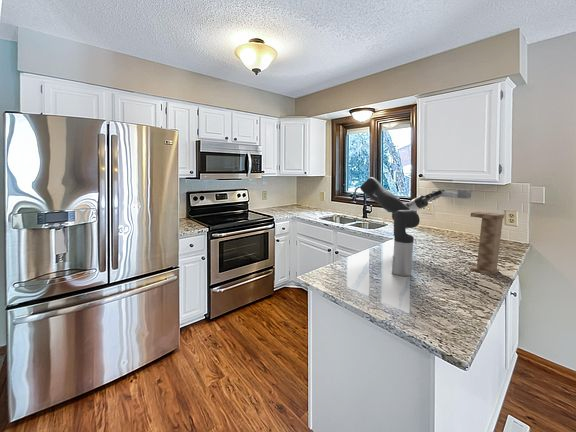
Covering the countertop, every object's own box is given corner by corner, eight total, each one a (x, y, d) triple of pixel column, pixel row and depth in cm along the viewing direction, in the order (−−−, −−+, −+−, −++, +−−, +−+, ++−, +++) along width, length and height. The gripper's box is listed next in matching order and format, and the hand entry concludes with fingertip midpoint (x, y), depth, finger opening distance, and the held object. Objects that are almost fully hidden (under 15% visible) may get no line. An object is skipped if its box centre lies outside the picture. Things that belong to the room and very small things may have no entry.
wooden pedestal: (465, 268, 162) (470, 212, 157) (473, 265, 168) (479, 211, 163) (490, 275, 152) (497, 215, 147) (498, 271, 158) (505, 214, 153)
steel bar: (431, 195, 177) (431, 188, 176) (435, 195, 180) (436, 188, 179) (466, 198, 161) (467, 190, 160) (470, 198, 164) (471, 190, 163)
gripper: (426, 208, 190) (451, 196, 177) (414, 209, 182) (439, 197, 169) (421, 197, 192) (446, 185, 179) (409, 198, 184) (433, 185, 171)
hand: (442, 191), depth 174 cm, fingers closed on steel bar, 3 cm apart
